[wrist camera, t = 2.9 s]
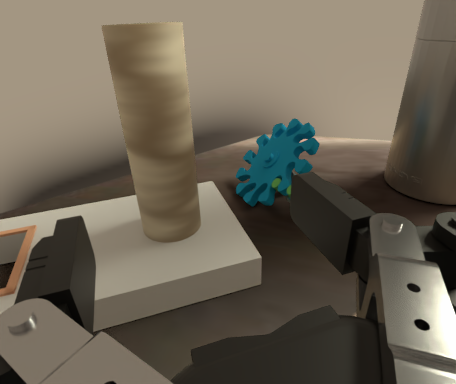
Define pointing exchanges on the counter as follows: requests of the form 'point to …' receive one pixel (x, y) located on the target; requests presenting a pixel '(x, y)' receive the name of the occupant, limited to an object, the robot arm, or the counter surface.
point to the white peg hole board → (142, 257)
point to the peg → (156, 124)
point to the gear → (276, 163)
